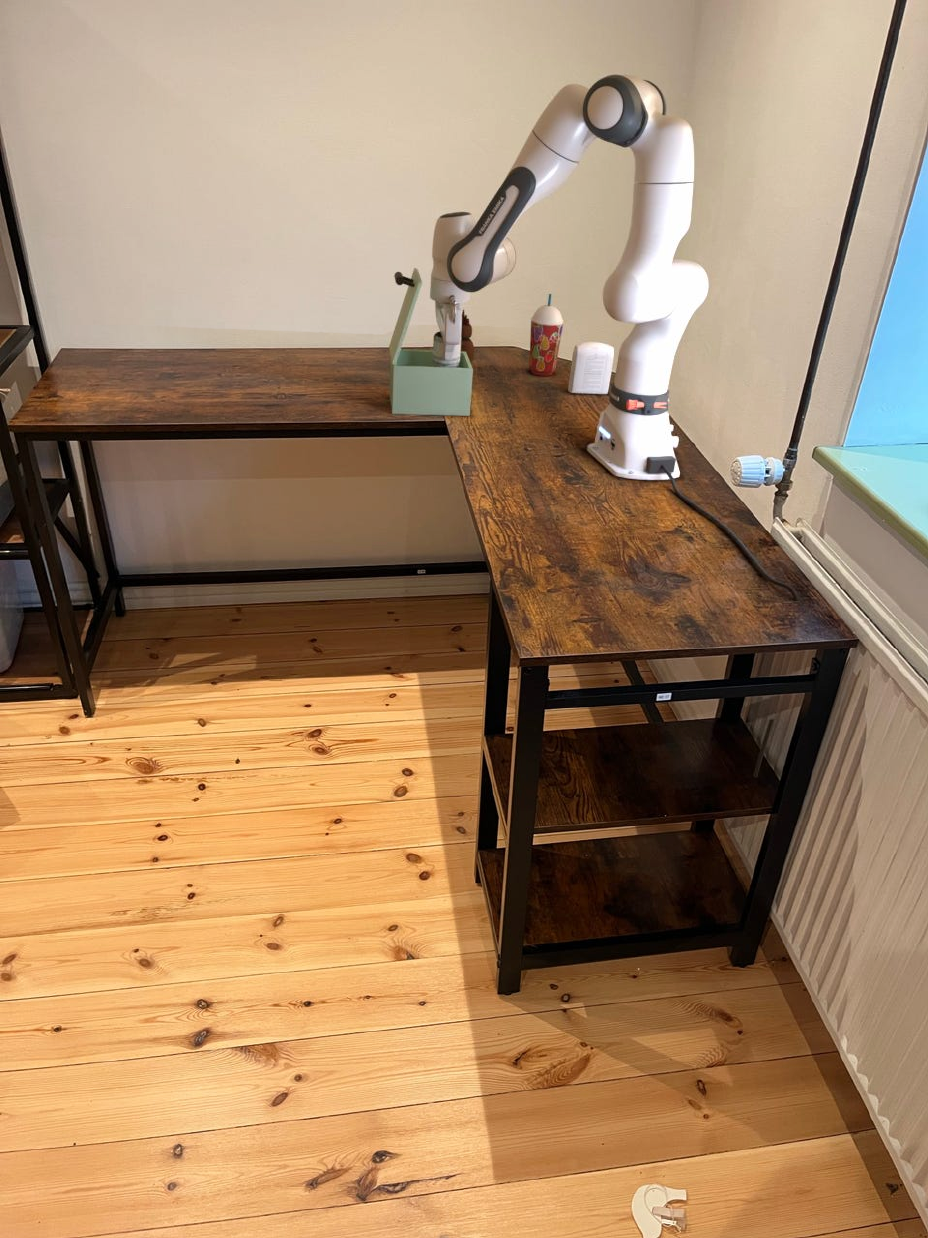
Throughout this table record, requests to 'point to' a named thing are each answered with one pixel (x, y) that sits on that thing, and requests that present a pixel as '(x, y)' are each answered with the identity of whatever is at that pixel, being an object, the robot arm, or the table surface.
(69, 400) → the table surface
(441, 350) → the camera lens
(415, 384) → the storage box
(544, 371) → the smoothie
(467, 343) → the wooden figurine
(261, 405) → the table surface
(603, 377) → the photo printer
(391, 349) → the lid
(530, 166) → the robot arm
